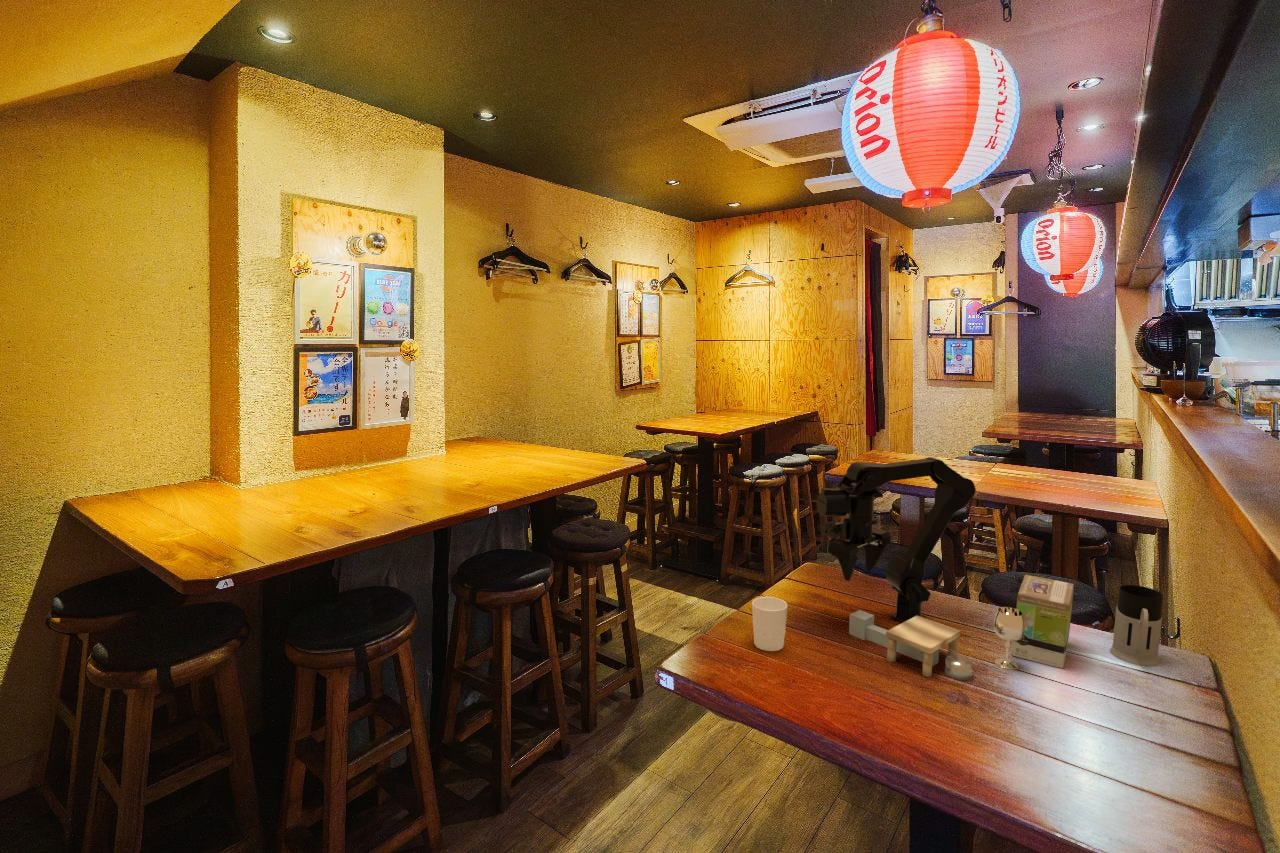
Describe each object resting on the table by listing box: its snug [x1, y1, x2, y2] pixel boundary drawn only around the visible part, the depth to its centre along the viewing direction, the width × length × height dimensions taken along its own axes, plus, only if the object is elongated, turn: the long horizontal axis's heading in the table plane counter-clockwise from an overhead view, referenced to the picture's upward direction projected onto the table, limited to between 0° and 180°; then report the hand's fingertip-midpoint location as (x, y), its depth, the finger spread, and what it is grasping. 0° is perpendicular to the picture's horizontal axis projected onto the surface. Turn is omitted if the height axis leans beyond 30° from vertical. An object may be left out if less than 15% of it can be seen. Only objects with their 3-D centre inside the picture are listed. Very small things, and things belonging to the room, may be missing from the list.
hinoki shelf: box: [886, 616, 962, 678], centre depth 137 cm, size 13×10×6 cm
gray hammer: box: [848, 609, 940, 667], centre depth 143 cm, size 4×20×5 cm, turn 38°
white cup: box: [751, 596, 788, 652], centre depth 144 cm, size 8×8×10 cm
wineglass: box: [993, 606, 1025, 670], centre depth 134 cm, size 6×6×12 cm
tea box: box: [1011, 574, 1075, 669], centre depth 140 cm, size 15×10×15 cm, turn 143°
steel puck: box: [944, 654, 973, 681], centre depth 131 cm, size 5×5×3 cm
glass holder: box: [1109, 584, 1164, 667], centre depth 135 cm, size 9×14×15 cm, turn 148°
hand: (858, 576), depth 154 cm, fingers open, 9 cm apart
